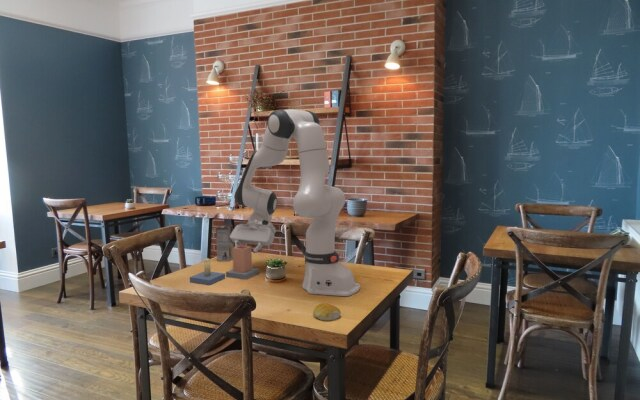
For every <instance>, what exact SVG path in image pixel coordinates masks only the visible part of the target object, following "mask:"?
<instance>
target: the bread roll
mask: <svg viewBox="0 0 640 400" xmlns="http://www.w3.org/2000/svg"><path fill="white" fill-rule="evenodd" d="M312 315H313V317H314V318H315V319H318V320H319V319H320V320H319V321H323V320H324V322H331V321H334V319H335V320H337V318H338V319H339V318H340V315H341V310H340V309H339V307H337V306H336V305H332V304H331V303H330V302H329V303H328V302H321V303H319V304H316V305H315V307H314V308H313V311H312ZM330 320H331V321H330Z"/></svg>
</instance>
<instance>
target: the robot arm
mask: <svg viewBox="0 0 640 400" xmlns="http://www.w3.org/2000/svg"><path fill="white" fill-rule="evenodd" d="M291 139H294V140H295V142H296V145H297V153H298V160H299V161H298V163H299V170H300V181H299V186H298V190H297V192H296V194H295V196H294V197H293V200H292V206H293V211H294V212H295V214H296V215H298V216H299V217H301V218H305V219H311V222H310V225H309V226H308V227H307V229H306V232H305V251H304V264H305V270H304V271H305V273H304V278H303V281H302V284H301V286H302V289H304V291H306V292H307V293H308V294H310V295H323V296H324V295H325V296H335V297H338V296H339V297H350V296H353V295H355V294H356V293H357V292H359V290H360V289H361V285H360V283H357V282H355V277H354V273H353V271H352V269H351V270H350V269H349V268H348V267H347V266H346V265H345V264H343V263H342V262H341V261H340V257H341V253H340V252H339V253H337V251H336V250H335V238H336V236H335V235H336V227H337V224H338V218H339V217H340V213H341V211H342V209H343V207H344V206H345V204H346V196H345V192H344V191H343V190H342V189H341V188H339V187H337V186H332V185H326V178H327V175H328V173H329V171H330V161H329V156H328V154H329V153H328V150H327V148H328V147H327V142H326V138H325V135H324V132H323V128H322V127H321V125H320V119H319V116H318V115H317V114H316V113H315V112H313V111H311V110H301V109H295V108H294V109H293V108H289V109H282V108H281V109H277V110H276V109H275V110H274V111H272V112H271V113H270V114H269V116H268V117H267V125H266V129H265V131H264V135H263V138H262V143H261V145H260V147H259V149H258V150H255V151H253V152H252V154H251V155H250V157H249V159H248V162H247V164H246V166H245V169H244V171H243V174H242V177H241V179H240V182H239V184H238V186H237V188H236V190H235V191H234V197H233V198H234V200H235V202H236V204H238V206H242V207H248V208H251V209H253V212H252V213H251V214H250V216H249V218H248V220H247V223H238V224H237V225H236V226H235V227H234V228H233V232H232V233H231V235H230V239H231V240H232V241H233V243H234V248H235V247H237V246H240V244H247V245H255V247H253V248H252V253H253V254H258V252H259V250H260V249H262V248H263V247H264V246H265V247H270V246H271V245H272V243H273V242H274V239H275V234H276V232H277V230H276V228H275V225H273V223H272V222H271V221H270V220H271V218H272V217H273V215H274V213H275V211H276V209H277V207H278V203H279V202H278V201H279V200H278V197H277V194H276V193H275V192H273V191H271V190H268V189H266V188H262V187H259V186H256V185H253V184H252V180H253V178H254V175H255V173H256V170H257V169H259V168H263V167H274V166H278V165H280V164H282V163H283V162H284V161H285V159H286V157H287V155H288V150H289V147H290V142H291ZM325 185H326V186H325Z"/></svg>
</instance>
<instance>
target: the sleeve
mask: <svg viewBox="0 0 640 400" xmlns="http://www.w3.org/2000/svg"><path fill="white" fill-rule="evenodd" d="M252 257H253V256H252V246H251V245H250V246H249V245H240V244H239V245H238V246H237V247H235V246H234V248H233V258H232V266H233V267H232V269H233V271H235V272H242V273H245V272H247V271H249V270H252V268H253V266H252V264H253V262H252V260H253V259H252Z"/></svg>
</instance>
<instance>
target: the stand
mask: <svg viewBox="0 0 640 400" xmlns="http://www.w3.org/2000/svg"><path fill="white" fill-rule="evenodd" d="M259 274H260V268H257V267H256V268H255V267H252V270H249V271H247V272H245V273H242V272H235V271H233V268H231V269H229V270H227V271H225V278H226V277H227V278H233V279H240V280H248V279H250V278H252V277H254V276H257V275H259Z"/></svg>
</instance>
